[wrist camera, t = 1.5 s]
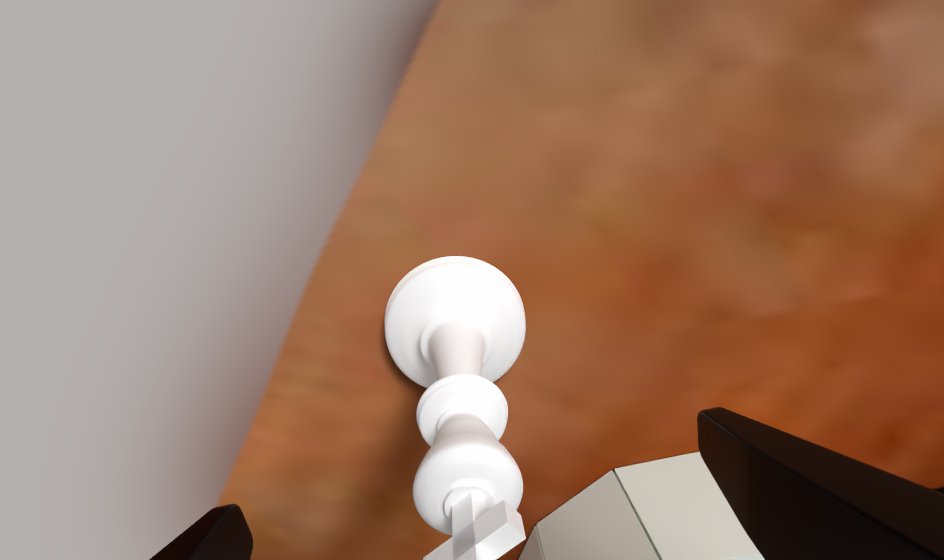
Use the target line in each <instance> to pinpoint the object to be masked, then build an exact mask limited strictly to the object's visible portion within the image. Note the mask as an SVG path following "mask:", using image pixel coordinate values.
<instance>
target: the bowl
mask: <svg viewBox="0 0 944 560" xmlns="http://www.w3.org/2000/svg"><path fill="white" fill-rule="evenodd" d="M614 471H615V473H614V472H613V471H612V470H611V471H609V472H608V473H607V474H605V475H604V476H602V477H601V478H600V479H598V480H597V481H595V482H594V483H593V484H591V485H590V486H588V487H587V488H586V489H584V490H583V491H581V492H580V493H579V494H577V495H576V496H574V497H573V498H572V499H570V500H569V501H567V502H566V503H565V504H563V505H562V506H561V507H559V508H558V509H556V510H555V511H554V512H552V513H551V514H549V515H548V516H547V517H545V518H544V519H542V520H541V521H540V522H538V523H537V524H536V525H537V526H534V528H533V530H532V532H531V534H530V536H529V539H528V541H527V543H526V545H525V547H524V549H523V551H522V553H521V555H520V557H519V559H518V560H765V559H764V558H763V556H762V555H761V554H760V552H759V551H758V550H757V548H756V547H755V545H754V544H753V542H752V541H751V539H750V538H749V537H748V535H747V534H746V532H745V530H744V529H743V527H742V525H741V524H740V522H739V521H738V519H737V517H736V515H735V514H734V512H733V510H732V509H731V507H730V505H729V503H728V502H727V500H726V498H725V497H724V495H723V493H722V492H721V490H720V488H719V486H718V485H717V483H716V481H715V480H714V478H713V476H712V475H711V473H710V471H709V469H708V468H707V466H706V464H705V463H704V461H703V459H702V457H701V455H700V452H695V453H690V454H685V455H680V456H675V457H670V458H665V459H660V460H655V461H650V462H645V463H640V464H635V465H630V466H625V467H620V468H615V469H614Z"/></svg>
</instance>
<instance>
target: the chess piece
mask: <svg viewBox="0 0 944 560" xmlns="http://www.w3.org/2000/svg"><path fill="white" fill-rule="evenodd" d="M384 325H385V338H386V343H387V347H388V350H389V352H390V354H391V356H392V358H393V360H394V362H395V363H396V365H397V366H398V367H399V369H400V370H401V371H402V372H403V373H404V374H405V375H406V376H407V377H409V378H410V379H411V380H413V381H414V382H416V383H417V384H419V385H421V386H423V387H425V388H428V389H427V390H426V391H425V392H424V394H423V395H422V397H421V398H420V401H419V403H418V407H417V413H416V417H417V424H418V427H419V430H420V432H421V434H422V436H423V438H424V439H425V441H426V442H427V443H428V444H429V445H430V446H431V448H430V450H429V451H428V452H427V453H426V455H425V457H424V458H423V460H422V462H421V464H420V466H419V468H418V470H417V473H416V476H415V479H414V483H413V499H414V503H415V506H416V508H417V511H418V512H419V514H420V516H421V517H422V518H423V519H424V520H425V521H426V522H427V523H428V524H429V525H430V526H431V527H433V528H435V529H436V530H438V531H440V532H442V533H445V534H448V535H452V536H453V537H451V538H450V539H449V540H447V541H446V542H444V543H443V544H442V545H440V546H439V547H438V548H436V549H435V550H433V551H432V552H431V553H429V554H428V555H427V556H425V557H424V558H423V560H496V559H498V558H499V557H500V556H502V555H503V554H505V553H506V552H508V551H509V550H510V549H512V548H513V547H515V546H516V545H518V544H519V543H520V542H522V541H523V540H525V539H526V536H525V532H524V527H523V522H522V518H521V515H520V514H519V513H518V512H517V511H516V510H517V508H518V506H519V504H520V502H521V498H522V493H523V480H522V476H521V472H520V470H519V468H518V466H517V464H516V462H515V460H514V459H513V457H512V456H511V455H510V453H509V452H508V451H507V449H506V448H505V447H504V446H503V445H502V444H501V443H499V441H498V440H499V439H500V438H501V436H502V434H503V432H504V430H505V426H506V423H507V418H508V406H507V402H506V399H505V397H504V395H503V393H502V392H501V390H500V389H499V388H498V387H497V386H496V385H495V384H494V383H493V382H494V381H496V380H497V379H499V378H500V377H501V376H503V375H504V374H505V373H506V372H507V371H508V370H509V369H510V367H511V366H512V365H513V364H514V362H515V361H516V359H517V357H518V355H519V353H520V351H521V349H522V346H523V343H524V338H525V331H526V323H525V313H524V307H523V303H522V300H521V298H520V295H519V293H518V291H517V289H516V288H515V286H514V285H513V283H512V282H511V281H510V280H509V279H508V278H507V277H506V276H505V275H504V274H503V273H502V272H501V271H500V270H498V269H497V268H495V267H494V266H492V265H490V264H488V263H486V262H484V261H481V260H478V259H475V258H470V257H463V256H448V257H442V258H437V259H433V260H430V261H428V262H425V263H423V264H421V265H419V266H418V267H416V268H414V269H413V270H412V271H410V272H409V273H408V274H407V275H406V276H405V277H404V278H403V279H402V280H401V281H400V282H399V283H398V284H397V286H396V287H395V289H394V290H393V292H392V294H391V296H390V298H389V301H388V304H387V307H386V312H385V321H384Z"/></svg>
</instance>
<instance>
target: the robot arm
mask: <svg viewBox="0 0 944 560" xmlns="http://www.w3.org/2000/svg"><path fill="white" fill-rule="evenodd" d="M697 424H698V446H699V451H700V455H701V457H702V459H703V461H704V463H705V464H706V466H707V468H708V469H709V471H710V473H711V475H712V476H713V478H714V480H715V481H716V483H717V485H718V486H719V488H720V490H721V492H722V493H723V495H724V497H725V498H726V500H727V502H728V503H729V505H730V507H731V509H732V510H733V512H734V514H735V515H736V517H737V519H738V521H739V522H740V524H741V525H742V527H743V529H744V530H745V532H746V534H747V535H748V537H749V538H750V539H751V541H752V542H753V544H754V545H755V547H756V548H757V550H758V551H759V552H760V554H761V555H762V556H763V558H764V559H765V560H944V488H942V489H937V490H932V489H929V488H927V487H924V486H922V485H919V484H917V483H914V482H911V481H909V480H906V479H904V478H901V477H899V476H896V475H894V474H891V473H888V472H886V471H883V470H881V469H878V468H876V467H873V466H870V465H868V464H865V463H863V462H860V461H858V460H855V459H853V458H850V457H847V456H845V455H842V454H840V453H837V452H835V451H832V450H829V449H827V448H824V447H822V446H819V445H817V444H814V443H812V442H809V441H806V440H804V439H801V438H799V437H796V436H794V435H791V434H789V433H786V432H783V431H781V430H778V429H776V428H773V427H771V426H768V425H765V424H763V423H760V422H758V421H755V420H753V419H750V418H748V417H745V416H742V415H740V414H737V413H735V412H732V411H730V410H727V409H724V408H721V407H716V408H711V409H706V410H702V411H700V412H699V413H698V417H697ZM252 549H253V538H252V534H251V532H250V529H249V527H248V525H247V522H246V520H245V518H244V515H243V513H242V511H241V509H240V507H239V506H238V505H236V504H229V505H224V506H219V507H215V508H213V509H211V510H210V511H209V512H207V513H206V514H205V515H204V516H203V517H201V518H200V519H199V520H198V521H196V522H195V523H194V524H193V525H191V526H190V527H189V528H188V529H187V530H185V531H184V532H183V533H182V534H180V535H179V536H178V537H177V538H175V539H174V540H173V541H172V542H170V543H169V544H168V545H167V546H165V547H164V548H163V549H162V550H161V551H160V552H158V553H157V554H156V555H154V556H153V557H152V558H151V559H150V560H250V557H251V553H252Z"/></svg>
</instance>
